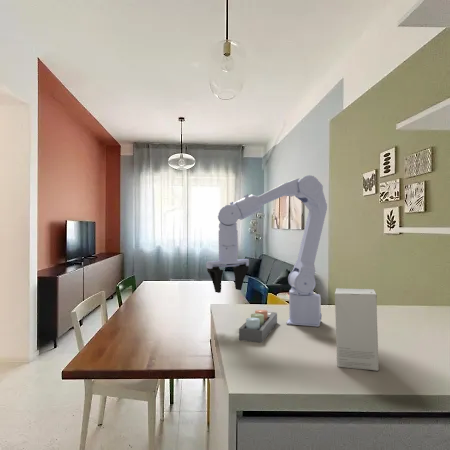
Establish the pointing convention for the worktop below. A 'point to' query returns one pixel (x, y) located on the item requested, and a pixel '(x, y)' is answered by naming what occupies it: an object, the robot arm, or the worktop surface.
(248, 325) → the blue button
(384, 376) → the worktop surface
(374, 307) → the skincare box
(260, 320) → the sage button
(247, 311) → the worktop surface
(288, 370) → the worktop surface
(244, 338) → the console
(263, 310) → the terracotta button
